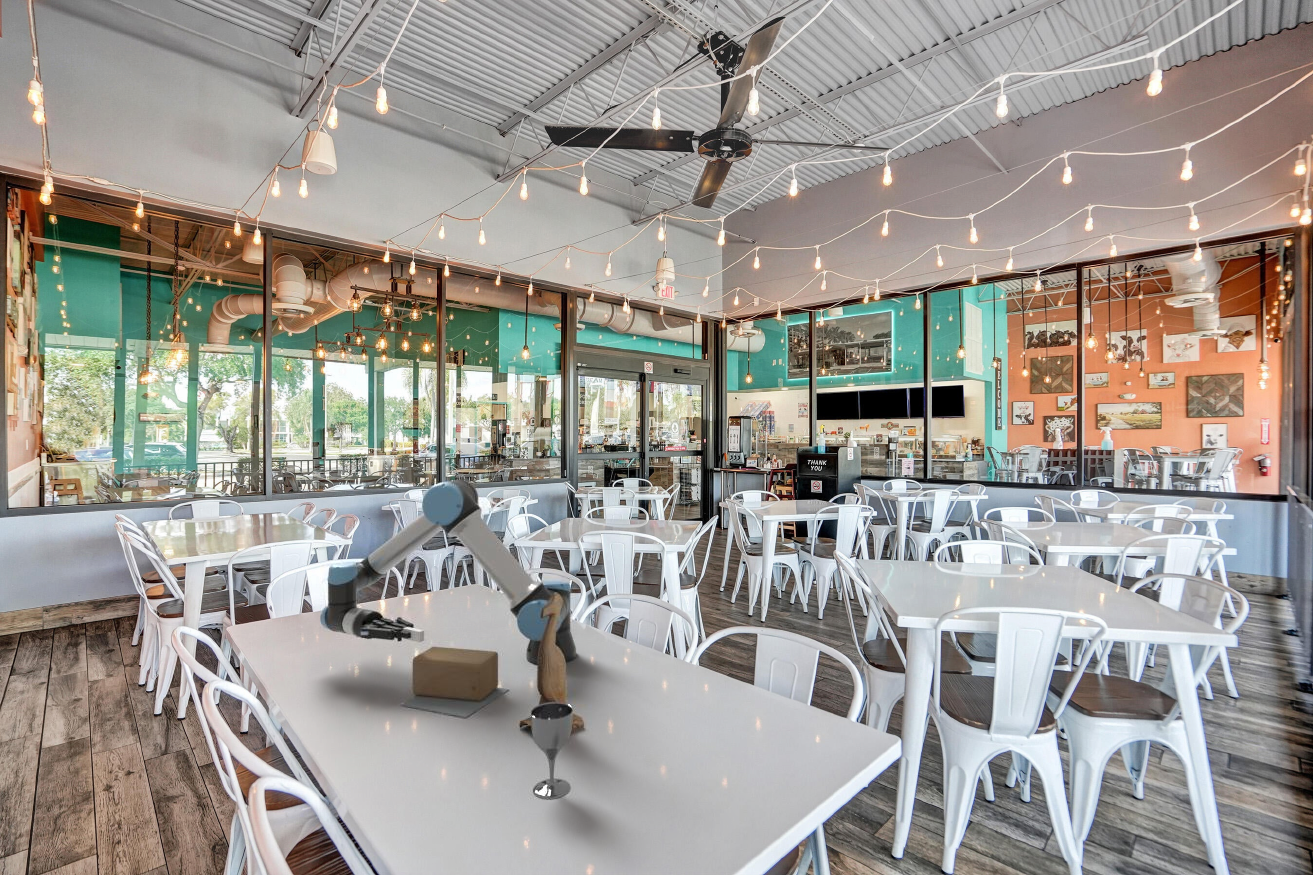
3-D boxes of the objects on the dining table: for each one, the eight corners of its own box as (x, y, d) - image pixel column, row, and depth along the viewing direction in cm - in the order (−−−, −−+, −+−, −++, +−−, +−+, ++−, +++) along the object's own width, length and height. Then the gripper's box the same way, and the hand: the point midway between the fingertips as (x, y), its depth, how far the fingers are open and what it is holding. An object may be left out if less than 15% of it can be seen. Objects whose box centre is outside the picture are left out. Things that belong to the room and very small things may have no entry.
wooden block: (410, 695, 163) (481, 702, 159) (410, 657, 163) (481, 663, 159) (432, 681, 173) (499, 687, 169) (432, 645, 173) (499, 650, 169)
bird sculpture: (516, 731, 145) (514, 594, 144) (555, 713, 154) (553, 583, 153) (548, 747, 138) (546, 602, 137) (586, 726, 147) (585, 591, 146)
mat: (508, 690, 168) (508, 689, 168) (465, 718, 151) (465, 716, 151) (448, 679, 175) (448, 678, 175) (400, 705, 158) (400, 704, 158)
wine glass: (533, 778, 124) (533, 702, 124) (573, 776, 125) (573, 701, 125) (528, 801, 116) (528, 720, 116) (571, 799, 117) (571, 718, 117)
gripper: (384, 630, 183) (441, 643, 172) (342, 643, 172) (401, 657, 160) (384, 604, 183) (441, 615, 172) (342, 615, 172) (401, 628, 160)
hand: (421, 636), depth 166 cm, fingers closed
